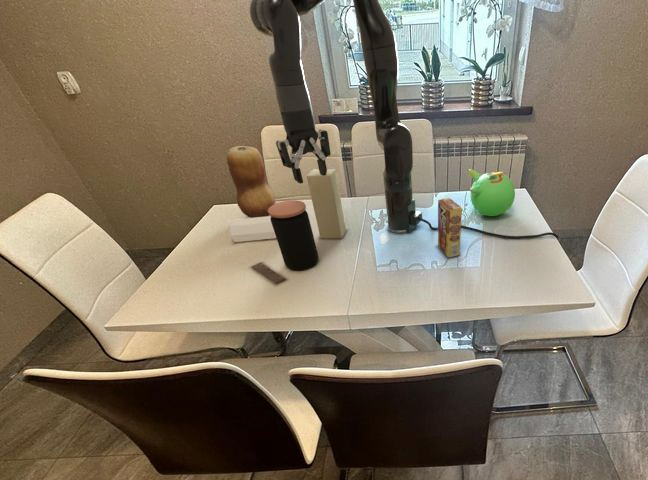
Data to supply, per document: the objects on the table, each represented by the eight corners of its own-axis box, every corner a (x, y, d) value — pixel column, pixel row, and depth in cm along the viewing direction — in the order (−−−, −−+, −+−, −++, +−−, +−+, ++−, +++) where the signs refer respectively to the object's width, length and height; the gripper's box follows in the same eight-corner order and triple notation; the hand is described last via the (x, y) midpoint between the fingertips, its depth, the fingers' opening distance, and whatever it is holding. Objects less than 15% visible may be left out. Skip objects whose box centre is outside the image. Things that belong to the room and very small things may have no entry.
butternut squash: (278, 222, 144) (256, 150, 127) (242, 227, 142) (215, 155, 125) (280, 208, 154) (259, 140, 137) (246, 212, 152) (221, 144, 135)
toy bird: (516, 222, 134) (522, 179, 124) (468, 224, 135) (470, 181, 125) (508, 202, 147) (512, 162, 137) (464, 204, 148) (466, 164, 138)
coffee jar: (325, 257, 122) (312, 201, 110) (308, 274, 115) (292, 216, 102) (297, 253, 125) (281, 198, 112) (278, 269, 117) (259, 213, 105)
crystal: (222, 236, 128) (293, 229, 129) (223, 218, 130) (293, 212, 131) (232, 248, 135) (300, 242, 136) (233, 231, 137) (299, 225, 138)
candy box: (460, 255, 119) (462, 207, 108) (448, 258, 118) (448, 210, 107) (449, 243, 125) (450, 197, 114) (437, 246, 124) (437, 199, 113)
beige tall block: (347, 229, 136) (336, 167, 122) (342, 238, 131) (330, 175, 117) (326, 229, 137) (312, 168, 123) (320, 238, 132) (305, 176, 118)
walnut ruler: (285, 279, 113) (285, 278, 112) (276, 284, 111) (276, 282, 111) (261, 263, 121) (260, 262, 120) (252, 267, 119) (251, 266, 119)
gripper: (311, 99, 96) (325, 169, 107) (260, 110, 88) (281, 183, 100) (329, 102, 92) (341, 174, 103) (276, 114, 84) (296, 189, 96)
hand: (311, 178), depth 101 cm, fingers open, 7 cm apart
